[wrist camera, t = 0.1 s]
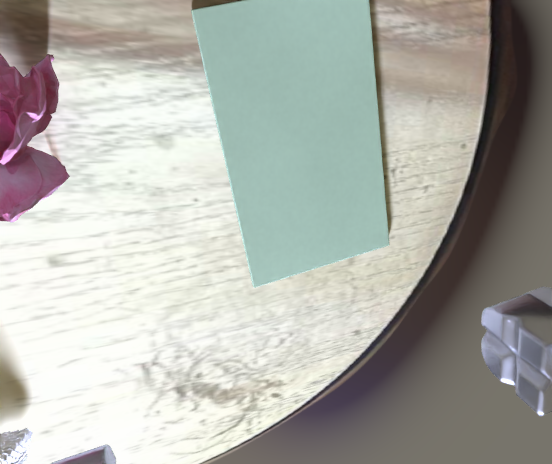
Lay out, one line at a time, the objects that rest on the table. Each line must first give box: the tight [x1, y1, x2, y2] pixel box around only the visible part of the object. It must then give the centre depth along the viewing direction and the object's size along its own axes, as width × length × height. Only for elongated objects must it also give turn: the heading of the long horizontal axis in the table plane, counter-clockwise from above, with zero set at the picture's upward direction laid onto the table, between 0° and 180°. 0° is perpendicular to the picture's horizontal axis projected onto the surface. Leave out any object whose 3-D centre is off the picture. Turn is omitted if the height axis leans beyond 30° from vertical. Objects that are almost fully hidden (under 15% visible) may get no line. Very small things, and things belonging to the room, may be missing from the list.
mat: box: [191, 0, 389, 288], centre depth 39 cm, size 22×13×1 cm, turn 10°
